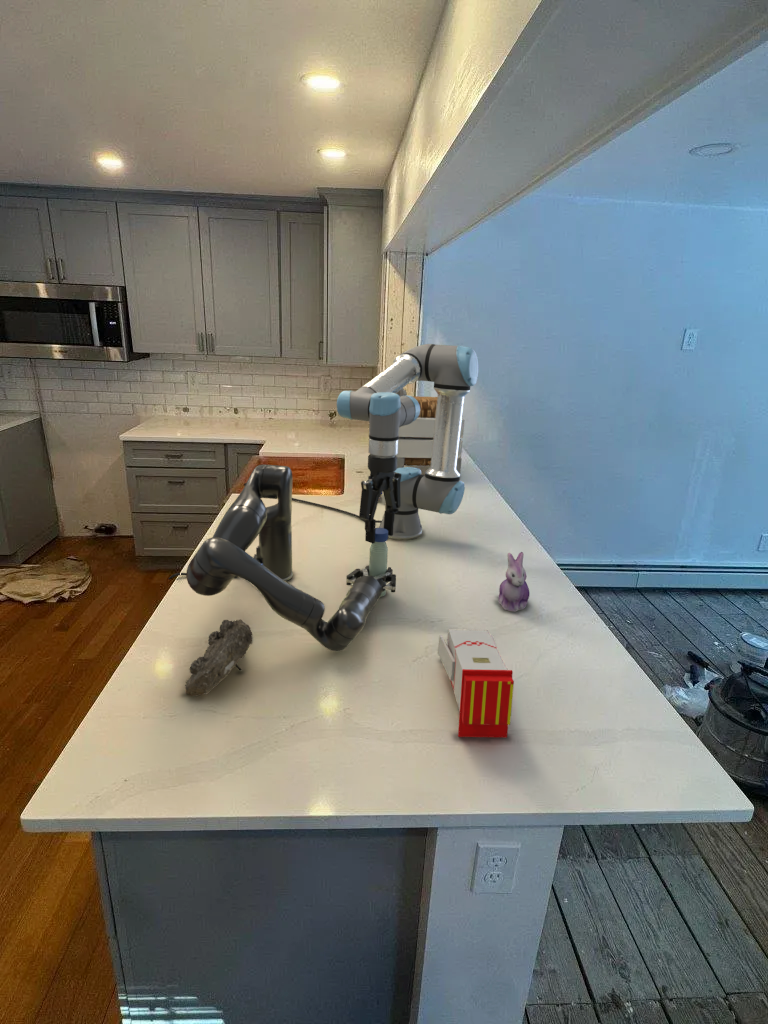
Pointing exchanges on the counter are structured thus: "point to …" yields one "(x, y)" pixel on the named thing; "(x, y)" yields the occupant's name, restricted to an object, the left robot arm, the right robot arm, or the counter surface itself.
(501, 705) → the toy
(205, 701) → the counter surface
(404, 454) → the white crate
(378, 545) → the bottle
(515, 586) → the figurine
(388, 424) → the right robot arm
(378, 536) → the cap
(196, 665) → the fossil
